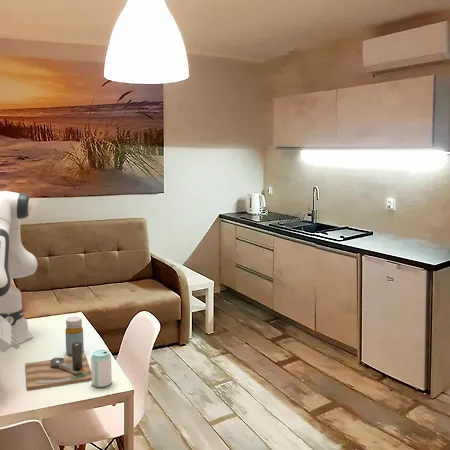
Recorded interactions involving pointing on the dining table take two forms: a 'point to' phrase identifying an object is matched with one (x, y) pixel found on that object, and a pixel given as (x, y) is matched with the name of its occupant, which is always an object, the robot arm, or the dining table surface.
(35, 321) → the dining table surface
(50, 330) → the dining table surface
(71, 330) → the bottle
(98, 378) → the can
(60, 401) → the dining table surface
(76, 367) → the peg lever
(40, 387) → the tuner board
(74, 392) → the dining table surface
